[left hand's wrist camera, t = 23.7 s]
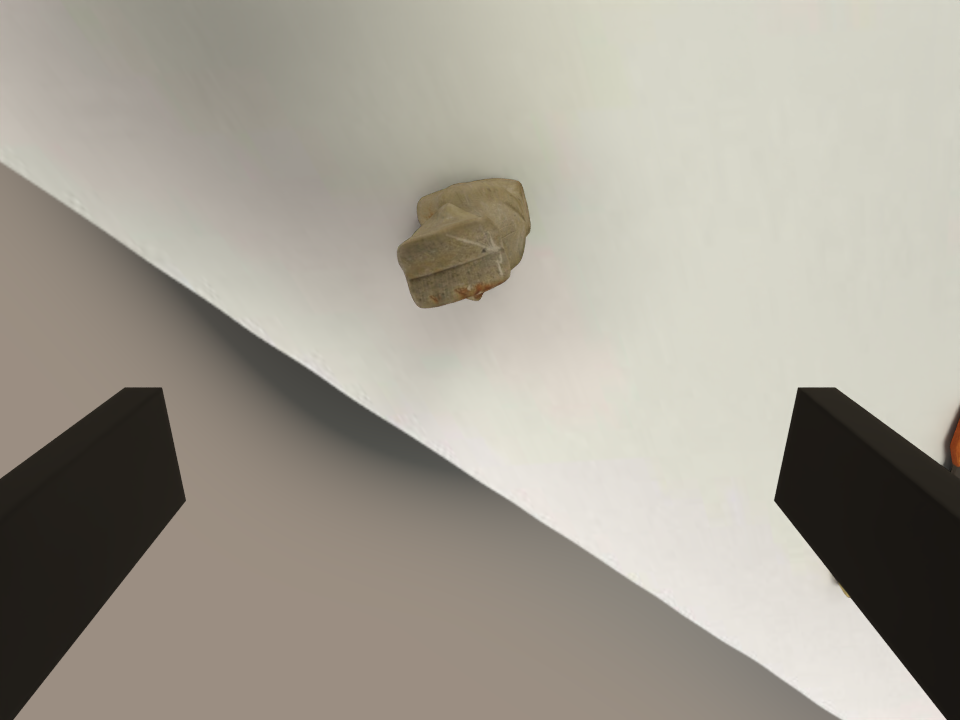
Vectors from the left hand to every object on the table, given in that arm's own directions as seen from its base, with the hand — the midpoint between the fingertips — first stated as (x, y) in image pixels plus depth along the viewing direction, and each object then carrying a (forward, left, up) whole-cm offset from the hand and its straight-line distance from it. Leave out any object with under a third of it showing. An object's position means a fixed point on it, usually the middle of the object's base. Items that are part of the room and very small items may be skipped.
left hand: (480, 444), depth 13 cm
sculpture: (-1, 0, -31) cm, 31 cm away
